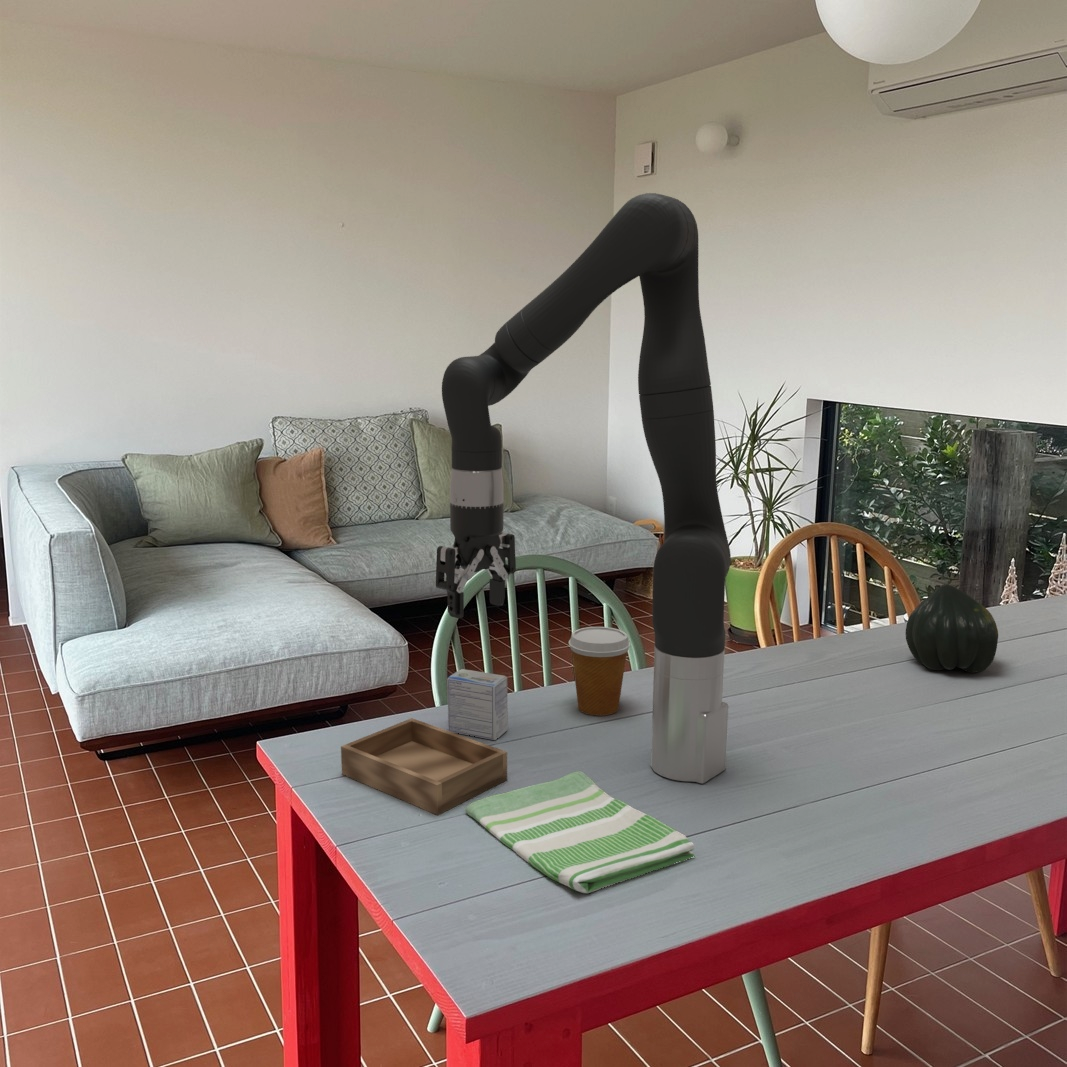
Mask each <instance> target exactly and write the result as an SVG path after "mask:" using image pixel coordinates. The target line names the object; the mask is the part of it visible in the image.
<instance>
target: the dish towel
mask: <svg viewBox="0 0 1067 1067" xmlns="http://www.w3.org/2000/svg"><path fill="white" fill-rule="evenodd" d="M464 812H465V813H466V814H467V815H468V816H469V817H471V818H473V819H474V820H475V821H477V823H479V824H480V825H482V827H484V828H485V829H486V830H487V831H488V832H489V833H491V835H493V836H494V837H495V838H497V840H499V841H500V842H501V843H502V844H503V845H505V846H506V847H508V848H509V849H511V850H512V851H514V852H515V853H516V855H518V857H520V858H522V859H523V860H524V861H525V862H527V863H528V864H529V865H531V866H532V867H533V868H535V870H537V871H539V872H540V873H542V874H543V875H545V876H546V877H548V878H550V879H551V880H553V881H555V882H558V883H559V884H561V885H565V886H566V887H567V888H570V889H571V890H573V891H576V892H579V893H582V894H589V893H593V892H595V891H598V890H602V889H604V887H605V888H607V886H608V887H611V886H613V884H614V885H616V884H615V883H617V884H619V883H618V882H620V883H622V882H625V880H626V881H628V880H627V879H629V880H632V879H634V877H635V878H638V877H641V876H644V875H646V874H645V873H647V874H649V873H648V872H650V873H652V872H651V871H653V870H656V871H659V870H661V869H664V868H667V867H669V866H668V865H671V864H674V863H676V862H679V861H683V862H685V861H684V860H686V859H689V858H691V857H693V856H694V857H695V858H696V855H695V854H694V852H692V851H694V849H695V844H694V843H693V842H692V841H691V840H690V839H688V837H687V836H686V835H685V834H683V833H681V832H679V831H678V830H676V829H674V828H673V827H670V826H669V825H668V824H665V823H664V822H662V821H661V820H658V819H657V818H655V817H654V816H651V815H650V814H647V813H644V812H643V811H640V810H638V809H636V808H634V807H632V806H630V805H629V804H627V803H626V802H625V801H623V800H620V799H617V798H613V797H612V796H611V795H609V794H608V793H606V792H605V791H604V790H602V789H601V788H600V787H599V786H598V785H597V784H596V783H595V782H594V781H593V780H592V779H591V778H590V777H588V775H586V774H585V773H584V772H582V771H580V770H577V771H575V772H574V771H573V772H570V773H567V774H566V775H564V776H562V777H560V778H558V779H554V780H551V781H546V782H541V783H537V784H532V785H528V786H525V787H520V788H516V789H514V790H510V791H507V792H503V793H499V794H492V795H489V796H487V797H483V798H480V799H479V800H475V801H473V802H471V803H469V804H468V805H467V806H466V807H465V808H464ZM674 865H675V864H674ZM666 866H667V867H666ZM671 866H672V865H671ZM663 867H664V868H663ZM660 868H661V869H660ZM658 869H659V870H658ZM653 872H654V871H653ZM643 874H644V875H643ZM640 875H641V876H640ZM637 876H638V877H637ZM631 878H632V879H631ZM610 885H611V886H610ZM601 888H602V889H601Z"/></svg>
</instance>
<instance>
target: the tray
mask: <svg viewBox="0 0 1067 1067" xmlns="http://www.w3.org/2000/svg"><path fill="white" fill-rule="evenodd" d="M340 759H341V760H340V761H341V764H340V765H341V775H342V774H343V776H345V775H346V776H345V777H347V778H349V777H350V778H349V779H352V780H354V779H355V780H354V781H356V780H357V782H359V783H361V784H364V785H366V786H368V785H369V786H368V787H371V788H373V789H375V790H377V789H378V791H379V792H382V793H384V794H387V795H389V796H392V797H394V798H396V799H399V800H401V801H402V802H403V801H404V802H405V803H408V804H410V805H413V806H415V807H417V808H419V809H421V810H425V811H427V812H429V813H431V814H433V815H436V816H439V815H441V814H443V813H445V812H447V811H449V810H451V809H453V808H455V807H457V806H459V805H460V804H463V803H465V802H467V801H469V800H471V799H472V798H475V797H477V796H479V795H480V794H482V793H484V792H486V791H488V790H490V789H492V788H495V787H496V786H498V785H500V784H502V783H504V782H506V781H508V752H507V751H506V750H503V749H501V748H497V747H494V746H492V745H489V744H486V743H483V742H481V741H478V740H475V739H472V738H470V737H466V736H465V735H462V734H458V733H453V732H450V731H448V729H447V730H446V729H444V728H441V727H438V726H436V725H433V724H430V723H427V722H424V721H422V720H419V719H416V718H414V717H412V718H408V719H407V720H406V719H405V720H404V721H401V722H399V723H396V724H394V725H391V726H389V727H385V728H383V729H381V730H378V731H377V732H374V733H371V734H368V735H366V736H363V737H361V738H359V739H356V740H353V741H351V742H349V743H346V744H343V745H341V746H340Z"/></svg>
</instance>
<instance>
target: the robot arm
mask: <svg viewBox="0 0 1067 1067" xmlns="http://www.w3.org/2000/svg"><path fill="white" fill-rule="evenodd" d="M638 277H639V282H640V289H641V294H642V300H643V310H644V311H643V314H644V316H643V317H644V319H643V320H644V322H643V332H642V340H641V346H640V353H639V362H638V371H637V372H638V373H637V381H638V382H637V386H638V390H637V391H638V400H639V407H640V414H641V415H640V416H641V423H642V428H643V434H644V438H645V442H646V445H647V448H648V451H649V455H650V458H651V460H652V463H653V466H654V468H655V472H656V474H657V477H658V480H659V484H660V488H661V495H662V502H663V504H662V505H663V518H664V519H663V522H664V530H663V532H664V534H663V536H664V538H663V543H662V544H661V546H660V547H659V549H658V550H657V552H656V554H655V558H654V562H653V571H652V628H653V632H654V654H653V656H654V658H653V660H654V661H653V684H652V685H653V688H652V690H653V691H652V715H651V716H652V722H651V723H652V724H651V749H650V750H651V751H650V752H651V753H650V754H651V756H650V757H651V760H650V761H651V762H650V765H651V769H652V770H653V771H654V773H656V774H658V775H660V776H661V777H662V778H663V777H664V778H667V779H668V780H673V781H679V782H680V781H681V782H694V783H695V782H696V783H699V784H705V783H707V782H708V781H709V780H711V779H712V778H714V777H716V776H717V775H719V774H720V773H722V772H724V771H725V770H726V767H727V766H726V764H727V743H728V727H729V726H728V723H729V722H728V720H729V719H728V718H729V704H728V702H725V701H723V697H724V696H723V693H724V670H725V652H726V651H725V648H726V630H725V619H724V617H725V595H726V593H725V592H726V591H725V590H726V578H727V576H728V574H729V570H730V568H731V562H732V561H731V549H730V546H729V540H728V536H727V531H726V527H725V523H724V518H723V514H722V509H721V504H720V498H719V493H718V485H717V484H718V483H717V446H716V427H715V413H714V400H713V391H712V386H711V384H712V382H711V376H710V370H709V362H708V354H707V346H706V339H705V334H704V326H703V322H702V315H701V309H700V307H701V306H700V293H699V287H700V286H699V285H700V284H699V283H700V282H699V228H698V223H697V221H696V218H695V216H694V214H693V212H692V210H691V209H690V208H689V206H687V205H686V204H685V203H684V202H683V201H681V200H679V199H677V198H675V197H672V196H668V195H664V194H660V193H656V192H655V193H653V192H652V193H651V192H649V193H648V192H646V193H642V194H639V195H636V196H634V197H632V198H630V199H629V200H627V201H626V202H625V204H624V205H622V206H621V208H620V209H619V210H618V211H617V212H616V213H615V214H614V215H613V217H612V218H611V219H610V220H609V221H608V223H607V224H606V225H605V227H603V229H602V230H601V232H599V234H597V236H596V237H595V238H594V240H593V241H592V242H591V243H590V244H589V245H588V246H587V248H585V250H584V251H583V252H582V253H581V254H580V255H579V256H578V257H577V258H576V259H575V261H573V263H572V264H571V265H569V266H568V268H567V269H565V270H564V271H563V273H561V274H560V275H559V276H558V277H557V278H556V279H555V280H553V282H551V284H549V285H548V286H547V287H546V288H545V289H544V290H542V291H541V292H540V293H539V294H538V295H536V296H535V297H534V298H533V299H532V300H531V301H530V302H528V303H527V304H526V305H525V306H524V307H522V309H520V310H519V311H517V312H516V313H515V314H514V315H513V316H512V317H511V318H510V319H509V320H507V321H506V322H505V323H504V324H503V325H502V326H501V327H499V328H498V330H497V332H496V333H495V337H494V342H493V343H492V344H491V345H490V346H489V347H488V348H486V349H485V351H484V352H481V354H479V355H472V356H463V357H458V358H456V359H454V360H452V361H451V362H450V363H449V364H448V365H447V367H446V369H445V371H444V373H443V377H442V382H441V398H442V403H443V409H444V412H445V413H444V414H445V418H446V421H447V422H446V423H447V426H448V430H449V434H450V436H451V437H450V438H451V473H450V481H449V515H450V516H449V518H450V520H449V522H450V523H449V524H450V525H449V527H450V532H451V533H452V534H453V537H454V540H453V541H454V542H453V545H452V546H442V545H438V546H437V548H436V561H435V564H436V565H435V568H436V569H435V588H437V589H441V590H444V591H446V592H447V597H446V598H447V599H446V600H447V612H448V614H449V616H450V617H452V618H456V619H461V618H464V614H465V612H464V611H465V610H464V608H465V607H464V605H465V604H464V603H465V602H464V597H465V595H464V594H465V593H464V592H463V591H464V589H465V586H466V584H467V582H468V581H470V580H471V579H472V577H473V576H474V573H478V572H481V571H482V570H486V571H487V573H488V574H489V576H490V577H491V579H490V578H489V603H490V605H492V606H497V607H499V606H500V607H501V606H503V605H504V603H505V598H506V580H507V579H508V577H509V575H510V574H512V575H513V574H515V573H516V571H517V570H516V569H517V566H516V565H517V564H516V563H517V562H516V559H517V558H516V541H515V540H516V537H515V535H514V534H512V533H509V532H503V531H504V487H505V486H504V478H503V469H502V467H503V465H502V464H503V447H502V446H503V444H502V433H501V432H500V430H499V428H498V427H495V426H494V425H492V423H491V416H490V409H489V407H490V406H493V405H496V404H497V403H499V402H501V401H502V400H503V399H505V398H507V396H508V395H510V394H511V393H512V392H514V390H515V389H516V388H517V387H519V385H520V384H521V382H522V381H523V380H524V379H525V378H526V377H527V376H528V375H529V373H530V372H531V371H532V370H533V369H534V368H535V367H537V366H539V364H541V363H542V362H543V361H544V360H546V359H547V358H549V357H550V355H552V354H553V353H555V351H557V350H558V349H559V348H560V347H562V346H563V345H564V344H565V343H566V342H567V341H569V339H571V337H572V336H574V334H575V333H576V332H577V331H579V329H580V328H581V327H582V325H583V324H584V323H585V321H586V320H588V318H589V317H590V316H591V314H592V313H593V312H594V311H595V310H596V309H597V307H599V306H600V305H601V304H602V303H603V302H604V301H605V300H606V299H607V298H608V297H610V296H611V295H613V293H615V292H616V291H617V290H619V289H620V288H621V287H623V286H625V285H626V284H628V283H630V282H631V281H633V280H634V279H637V278H638ZM506 559H507V561H506ZM460 568H461V569H460ZM458 578H459V579H458ZM457 579H458V580H457Z"/></svg>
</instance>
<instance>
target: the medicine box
mask: <svg viewBox="0 0 1067 1067" xmlns="http://www.w3.org/2000/svg"><path fill="white" fill-rule="evenodd" d="M446 683H447V721H448V722H447V726H448V729H447V731H450V732H453V733H455V734H458V733H459V734H458V735H463V736H469V735H470V736H471V737H474V736H475V738H482V739H486V740H492V741H497V738H498V739H499V738H500V737H501V736H503V734H505V733H506V732H507V731H508V730H509V722H508V721H509V718H508V717H509V715H508V714H509V713H508V712H509V710H508V677H507V676H506V675H504V674H502V675H501V674H497V673H490V672H483V671H477V670H471V669H466V668H465V669H464V668H462V669H459V670H457V671H455V672H454V673H453V674H451V675H450V676H448V677H447V680H446ZM470 736H469V737H470Z"/></svg>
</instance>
